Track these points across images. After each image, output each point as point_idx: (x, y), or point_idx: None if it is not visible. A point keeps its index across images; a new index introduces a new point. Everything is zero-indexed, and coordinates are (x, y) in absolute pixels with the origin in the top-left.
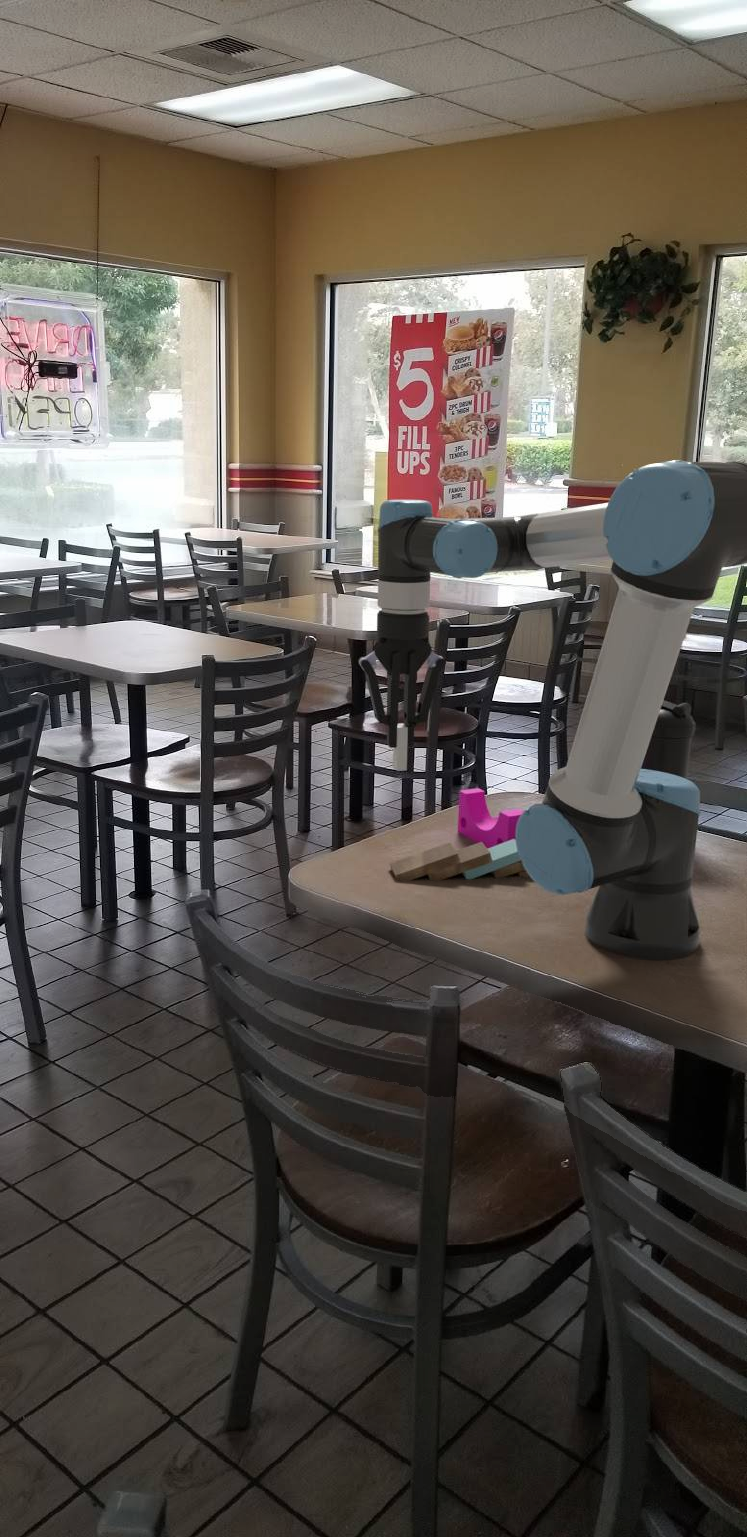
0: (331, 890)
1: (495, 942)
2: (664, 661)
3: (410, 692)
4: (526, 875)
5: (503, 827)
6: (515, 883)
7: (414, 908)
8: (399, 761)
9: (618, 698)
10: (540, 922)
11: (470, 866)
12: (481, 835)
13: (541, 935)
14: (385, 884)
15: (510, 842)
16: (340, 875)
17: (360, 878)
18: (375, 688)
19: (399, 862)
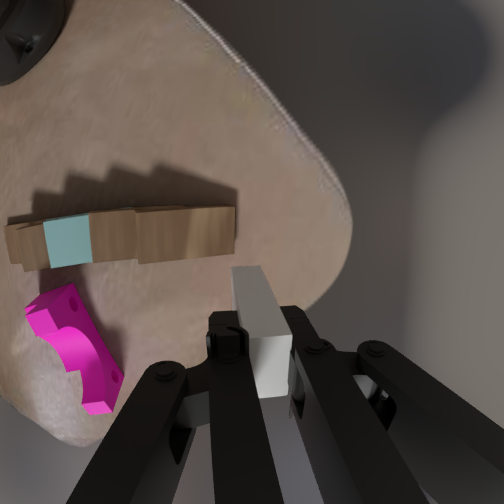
0: (322, 197)
1: (155, 20)
2: None
3: (260, 494)
4: (57, 217)
5: (61, 309)
6: (73, 197)
7: (226, 119)
8: (257, 276)
9: None
10: (83, 72)
11: (121, 209)
12: (95, 340)
13: (97, 39)
14: (247, 208)
15: (56, 259)
16: (300, 247)
17: (276, 234)
18: (489, 441)
19: (221, 246)
